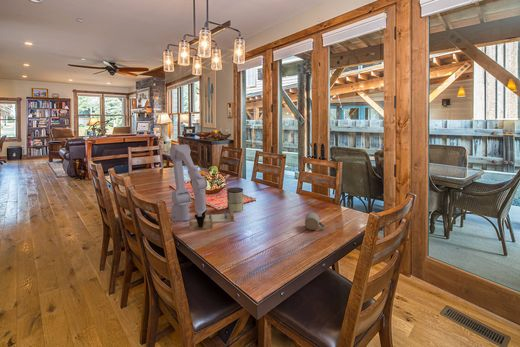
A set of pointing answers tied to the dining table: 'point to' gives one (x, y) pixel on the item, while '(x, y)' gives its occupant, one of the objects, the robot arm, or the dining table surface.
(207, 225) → the tan wooden block
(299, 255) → the dining table surface
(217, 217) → the peg plate
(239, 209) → the coffee can
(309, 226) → the ceramic mug
